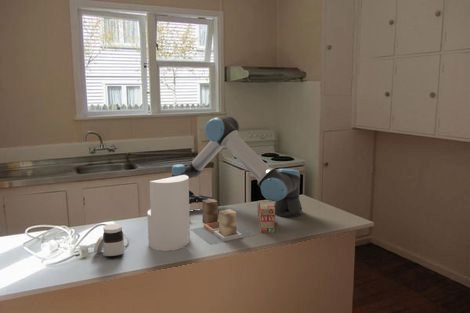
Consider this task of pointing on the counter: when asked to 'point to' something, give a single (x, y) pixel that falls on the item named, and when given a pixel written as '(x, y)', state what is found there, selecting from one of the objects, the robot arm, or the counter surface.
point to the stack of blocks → (266, 216)
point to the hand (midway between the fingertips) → (202, 206)
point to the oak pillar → (227, 222)
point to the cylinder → (169, 213)
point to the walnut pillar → (210, 211)
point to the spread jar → (111, 242)
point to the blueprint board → (213, 236)
